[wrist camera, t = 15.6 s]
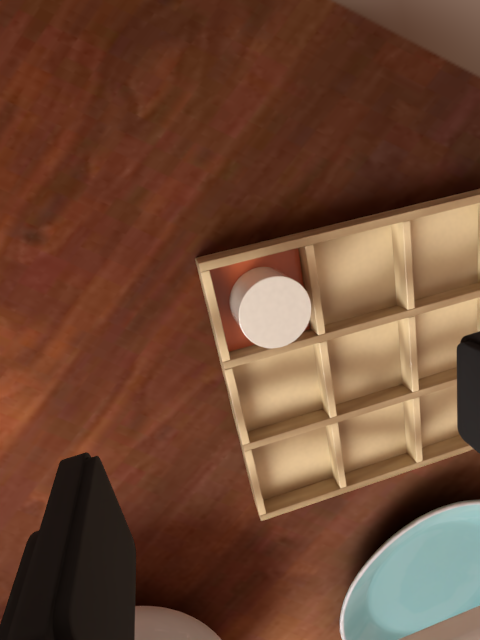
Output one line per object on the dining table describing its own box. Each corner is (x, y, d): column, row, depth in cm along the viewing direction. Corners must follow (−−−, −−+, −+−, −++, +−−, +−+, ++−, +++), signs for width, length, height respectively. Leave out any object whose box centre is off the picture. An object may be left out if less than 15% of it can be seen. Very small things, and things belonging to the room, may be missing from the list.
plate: (526, 457, 40) (552, 476, 38) (509, 609, 48) (530, 633, 45) (319, 520, 37) (332, 546, 34) (336, 672, 45) (348, 703, 42)
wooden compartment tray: (194, 257, 27) (198, 263, 25) (478, 188, 30) (501, 188, 28) (254, 503, 35) (261, 521, 33) (477, 429, 38) (494, 442, 36)
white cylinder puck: (222, 276, 27) (231, 286, 24) (289, 259, 28) (306, 267, 25) (236, 339, 29) (246, 357, 26) (299, 322, 30) (316, 337, 27)
